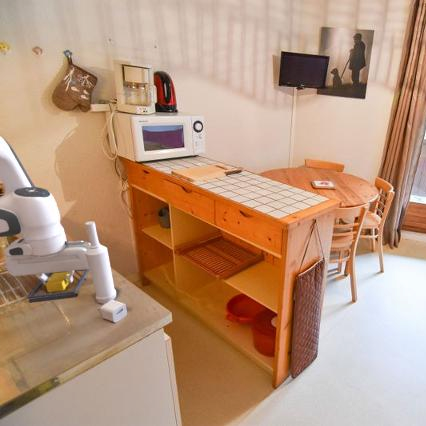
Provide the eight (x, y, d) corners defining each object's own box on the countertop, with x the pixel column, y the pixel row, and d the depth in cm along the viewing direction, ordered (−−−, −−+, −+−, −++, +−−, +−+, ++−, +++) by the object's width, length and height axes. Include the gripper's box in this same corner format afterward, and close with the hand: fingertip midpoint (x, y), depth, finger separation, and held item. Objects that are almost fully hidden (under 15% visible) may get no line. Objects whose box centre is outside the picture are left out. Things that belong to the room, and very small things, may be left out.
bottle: (118, 291, 98) (103, 218, 88) (115, 302, 93) (99, 226, 84) (98, 294, 96) (81, 219, 86) (94, 305, 92) (75, 227, 82)
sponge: (64, 292, 95) (61, 282, 93) (48, 294, 93) (45, 284, 92) (71, 280, 100) (69, 271, 98) (56, 282, 99) (53, 273, 97)
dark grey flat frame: (29, 302, 90) (27, 297, 90) (49, 276, 102) (47, 271, 101) (76, 297, 94) (74, 291, 93) (90, 272, 105) (89, 267, 105)
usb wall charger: (114, 323, 86) (112, 311, 84) (95, 316, 88) (92, 304, 86) (127, 314, 89) (125, 302, 88) (108, 307, 91) (106, 296, 90)
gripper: (93, 234, 97) (101, 273, 102) (8, 240, 90) (22, 281, 95) (86, 244, 91) (96, 284, 97) (-4, 251, 85) (11, 293, 90)
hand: (59, 282), depth 96 cm, fingers closed on sponge, 4 cm apart
